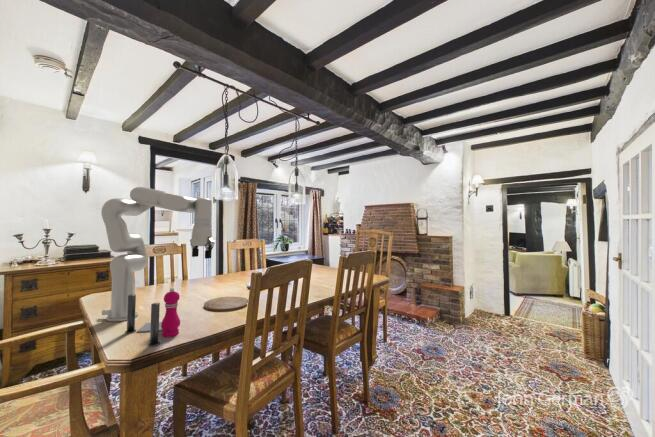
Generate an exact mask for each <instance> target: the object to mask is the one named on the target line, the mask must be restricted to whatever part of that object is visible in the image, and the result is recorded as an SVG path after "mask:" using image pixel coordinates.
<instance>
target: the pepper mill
mask: <svg viewBox="0 0 655 437" xmlns="http://www.w3.org/2000/svg"><path fill="white" fill-rule="evenodd" d="M163 296H164V297H163V302H164V308H165V314H164V317H163V319H162V321H161V322H162V323H161V328H162V329H163V331H161V336H162V337H163V338H172V337H173V338H174V337H176V336H177V335H179V333H180V331H179V330H180V329H179V327H180V326H181V318H180V317H179V314H178V311H177V310H178V306H179V300H180V297H181V295H180V294H179V293H178V292H177V291H175V288H174V287H172V288H170V289H169V292H168V293H167V292H166V293H165V294H164V295H163Z"/></svg>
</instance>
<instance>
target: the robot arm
mask: <svg viewBox="0 0 655 437" xmlns="http://www.w3.org/2000/svg"><path fill="white" fill-rule="evenodd" d="M129 197H130V199H129V198H128V199H127V198H117V197H116V198H115V197H114V198H111V199H108V200H106V202H104V204H103V205H102V208H101V213H100V214H101V217H102V222H103V223H104V226H105V230H106V235H107V240H108V246H109V248H110V250H111V251H112V252H113V253H126V252H127V253H126V254H120V255H117V256H115V257H114V258H112V259H111V260H110V262H109V270H110V274H111V294H110V295H111V296H110V297H111V298H110V308H109V309H102V310H101V316H106V320H105V321H108V322H112V323H113V322H117V323H118V322H124V321H127V312H128V295H133V294H135V295H136V278H135V276H134V274H133V273H134V272H138V271H142V270H143V269H145V268H146V267H147V265H148V255H147V250H146V245H145V242H144V241H145V240H144V239H143V237H142V236H140V235H139V234H137V233H130V232H129V230H128V229H129V228H128V225H127V223H126V221H125V219H124V218H123V217H122V216H127V217H129V216H131V217H135V216H139V215H141V214H143V213H145V212H147V211H148V210H150V209H151V208H153V207H155V208H160V209H164V210H168V211H173V212H179V213H192V214H193V213H194V220H193V221H194V223H193V224H194V225H193V227H192V232H191V233H192V234H191V238H190V240H189V242H190V246H191V257H192V258H195V257H199V250H200V249H199V247H204V249H205V251H204V259H212V250H213V248H214V246H215V244H216V243H215V242H216V241H215V240H213V232H212V231H213V230H212V209H213V208H212V207H213V204H212V202H213V201H212V199H211V198H208V197H207V198H206V197H198V198H197V197H196V198H194V197H189V196H183V195H177V194H174V193H168V192H166V191H163V190H159V189H154V188H148V187H146V186H145V187H144V186H137V187H134V188H132V189H131V190H130V193H129ZM138 314H139V313H138V312H137V311H135V318H136V317H138V316H139V315H138Z"/></svg>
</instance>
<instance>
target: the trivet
mask: <svg viewBox="0 0 655 437" xmlns="http://www.w3.org/2000/svg"><path fill="white" fill-rule="evenodd" d="M248 301H249V299H248V298H246V297H241V296H222V297H216V298H212V299H208V300H207V301H204V303H203V308H204V309H205V310H207V311H209V312H221V311H222V312H232V311H236V310H242V309H244V308H246V307H248V305H247V303H248Z"/></svg>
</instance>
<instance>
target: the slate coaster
mask: <svg viewBox="0 0 655 437" xmlns="http://www.w3.org/2000/svg"><path fill="white" fill-rule="evenodd" d="M161 323H162V321H159V332H162V331H163V329H162V328H161ZM150 329H151V322H146V323H145V324H144V325H142V326H141V327H140V328H139V329H138V330H136V333H150Z"/></svg>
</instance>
